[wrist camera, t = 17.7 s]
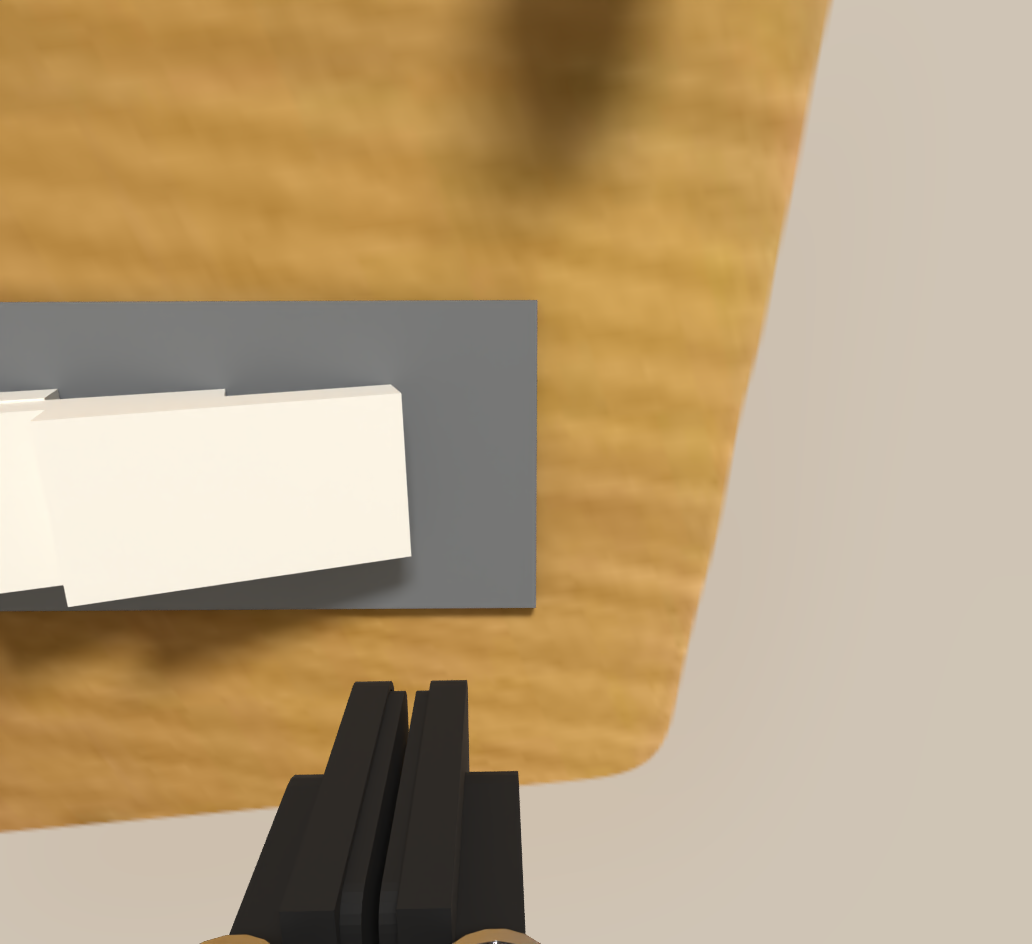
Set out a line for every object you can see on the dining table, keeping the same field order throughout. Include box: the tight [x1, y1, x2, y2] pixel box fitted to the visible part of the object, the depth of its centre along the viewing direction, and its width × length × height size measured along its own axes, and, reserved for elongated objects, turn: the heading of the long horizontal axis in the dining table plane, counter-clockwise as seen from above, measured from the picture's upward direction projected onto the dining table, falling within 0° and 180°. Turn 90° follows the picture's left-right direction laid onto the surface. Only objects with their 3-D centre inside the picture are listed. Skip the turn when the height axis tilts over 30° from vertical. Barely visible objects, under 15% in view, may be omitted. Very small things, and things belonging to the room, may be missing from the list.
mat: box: [0, 300, 537, 611], centre depth 28 cm, size 32×12×1 cm, turn 90°
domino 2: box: [29, 384, 411, 607], centre depth 25 cm, size 2×6×11 cm
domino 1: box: [0, 389, 226, 593], centre depth 25 cm, size 2×6×11 cm
